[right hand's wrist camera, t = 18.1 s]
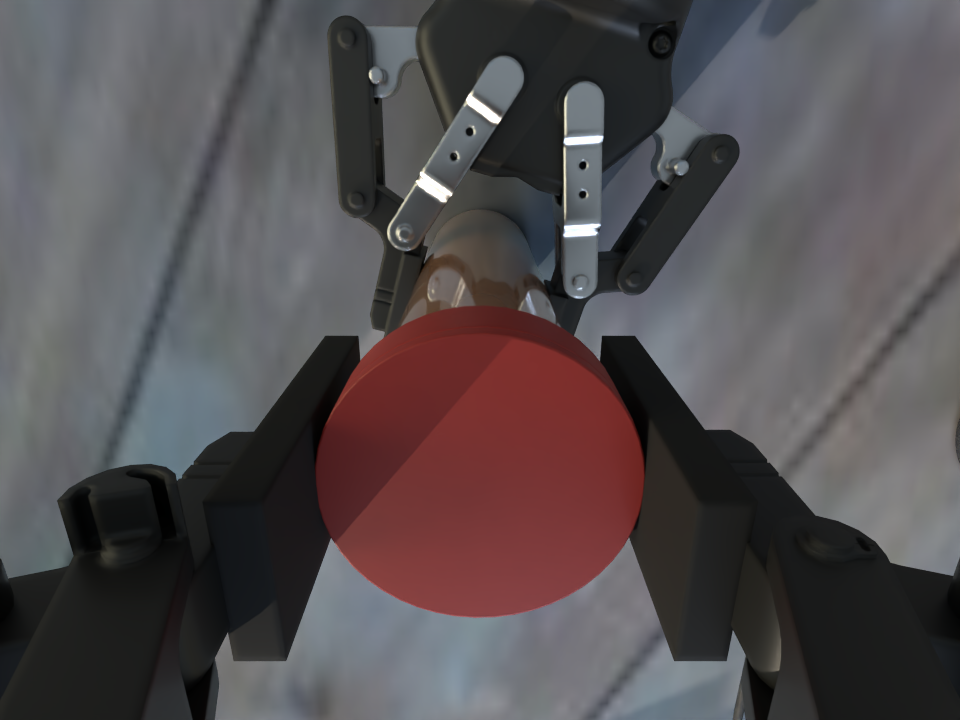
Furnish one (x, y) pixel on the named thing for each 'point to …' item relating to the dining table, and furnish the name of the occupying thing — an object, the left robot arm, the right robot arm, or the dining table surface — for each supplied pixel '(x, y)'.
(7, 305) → the dining table surface
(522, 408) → the lid
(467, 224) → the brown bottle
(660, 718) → the dining table surface
